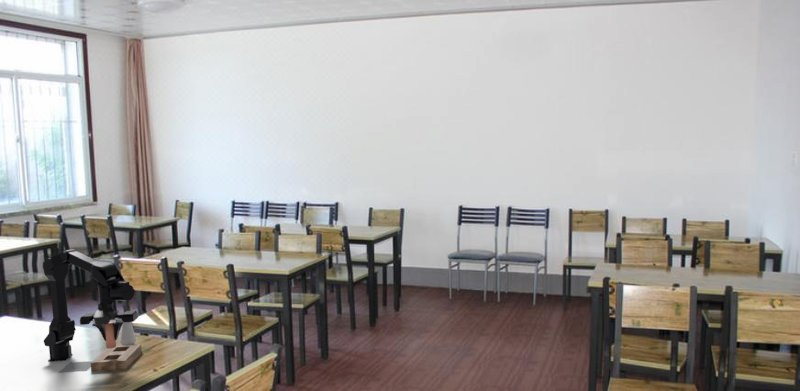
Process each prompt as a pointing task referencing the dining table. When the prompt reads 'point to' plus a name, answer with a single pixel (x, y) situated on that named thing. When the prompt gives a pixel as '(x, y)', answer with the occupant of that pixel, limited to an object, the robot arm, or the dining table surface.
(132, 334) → the salt shaker
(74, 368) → the mat
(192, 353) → the dining table surface
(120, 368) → the socket block
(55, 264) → the robot arm
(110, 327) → the peg
